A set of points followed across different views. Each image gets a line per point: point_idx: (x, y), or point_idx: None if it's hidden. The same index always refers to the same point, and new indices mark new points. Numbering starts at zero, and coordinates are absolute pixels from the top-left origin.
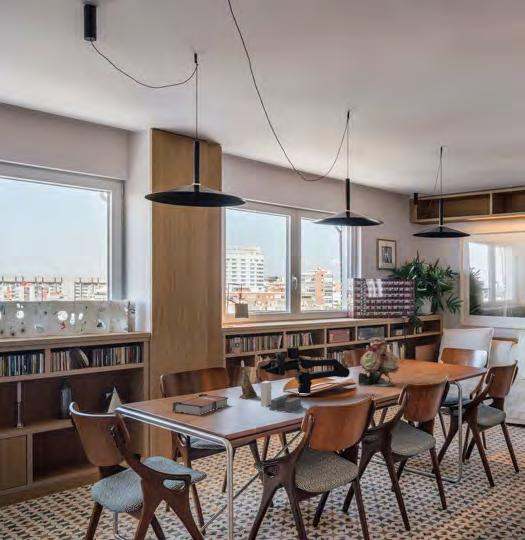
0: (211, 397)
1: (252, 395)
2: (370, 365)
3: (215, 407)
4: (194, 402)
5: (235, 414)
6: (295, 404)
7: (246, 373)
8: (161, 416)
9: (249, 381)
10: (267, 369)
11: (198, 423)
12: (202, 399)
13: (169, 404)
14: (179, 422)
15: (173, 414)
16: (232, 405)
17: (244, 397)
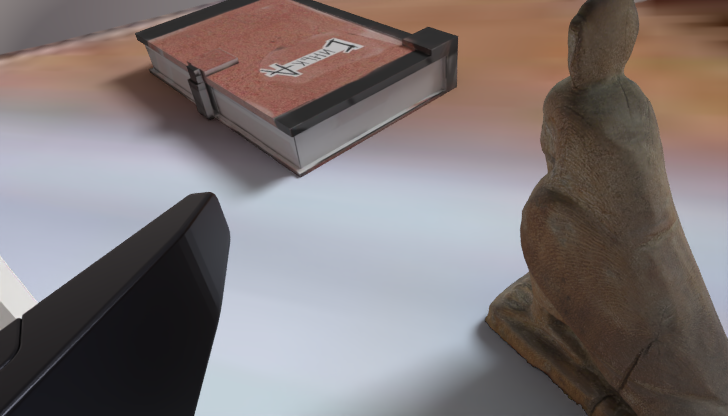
0: (345, 67)
1: (601, 405)
2: None
3: (199, 103)
4: (254, 21)
5: (27, 179)
6: None
7: (572, 72)
8: None
9: (580, 223)
10: (150, 223)
11: (27, 67)
12: (309, 40)
13: (440, 8)
14: (100, 33)
15: None
16: (275, 196)
17: (495, 300)
